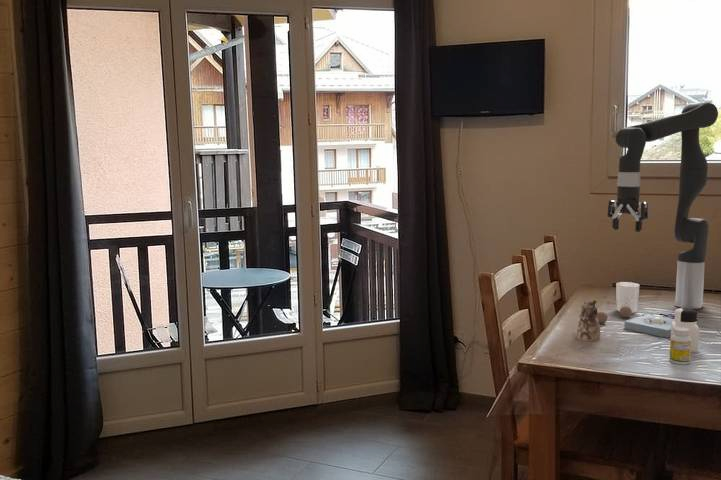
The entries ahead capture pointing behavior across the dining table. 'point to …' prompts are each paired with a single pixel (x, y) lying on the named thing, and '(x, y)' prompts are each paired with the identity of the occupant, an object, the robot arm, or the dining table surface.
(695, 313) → the medicine bottle
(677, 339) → the supplement bottle
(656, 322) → the ball
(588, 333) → the figurine
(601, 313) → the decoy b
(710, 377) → the dining table surface
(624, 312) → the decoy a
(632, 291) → the white cup
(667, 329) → the blue-grey square plate
